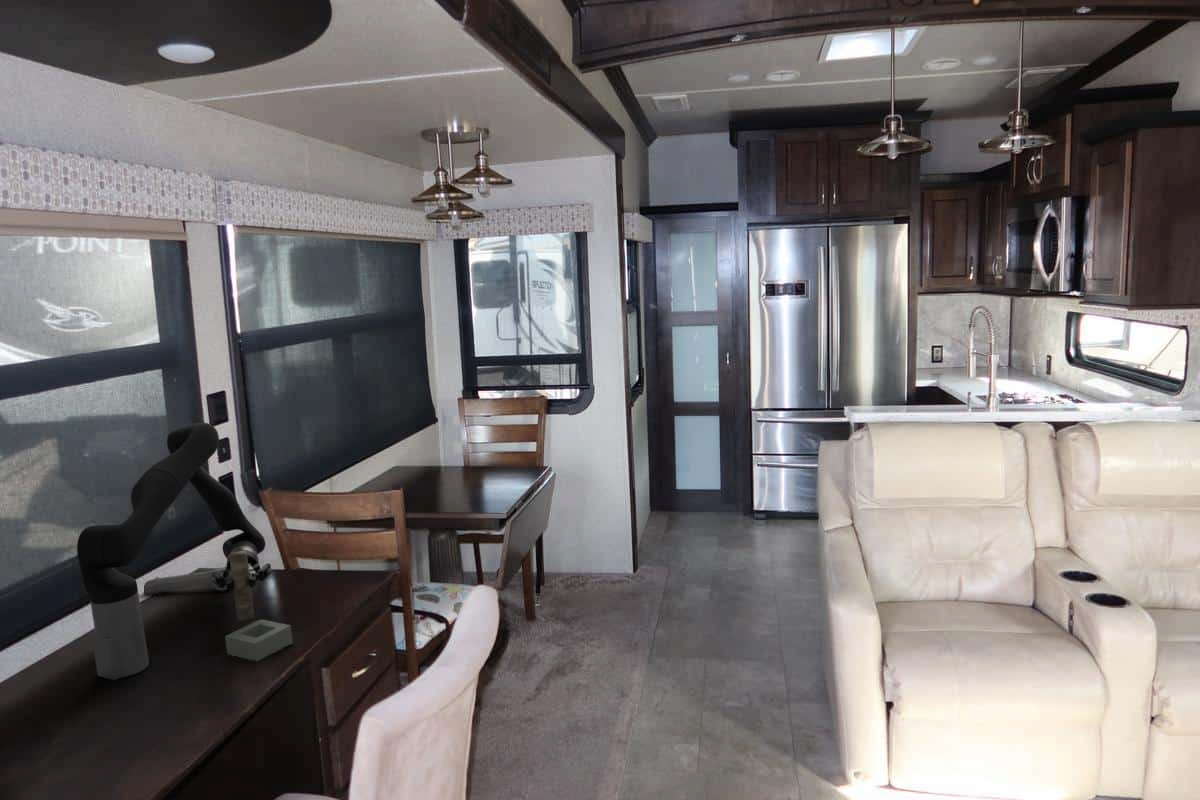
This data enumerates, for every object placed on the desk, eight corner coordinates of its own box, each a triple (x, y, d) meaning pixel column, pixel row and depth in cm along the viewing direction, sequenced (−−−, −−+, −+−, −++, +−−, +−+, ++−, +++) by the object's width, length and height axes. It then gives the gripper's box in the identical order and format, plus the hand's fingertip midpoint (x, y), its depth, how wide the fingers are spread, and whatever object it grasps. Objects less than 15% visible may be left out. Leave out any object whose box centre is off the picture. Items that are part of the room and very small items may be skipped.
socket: (257, 662, 191) (255, 643, 190) (227, 654, 195) (224, 636, 195) (292, 643, 199) (290, 625, 198) (263, 636, 204) (260, 619, 203)
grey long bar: (147, 577, 240) (234, 560, 239) (154, 599, 241) (241, 582, 240) (138, 584, 234) (226, 566, 234) (145, 606, 236) (233, 589, 235)
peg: (244, 621, 203) (236, 557, 200) (233, 619, 205) (225, 555, 202) (257, 615, 206) (250, 551, 204) (246, 613, 208) (239, 550, 205)
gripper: (210, 554, 214) (206, 575, 198) (270, 545, 219) (271, 564, 203) (213, 583, 215) (210, 606, 199) (274, 573, 220) (275, 595, 204)
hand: (241, 585), depth 201 cm, fingers closed on peg, 3 cm apart
